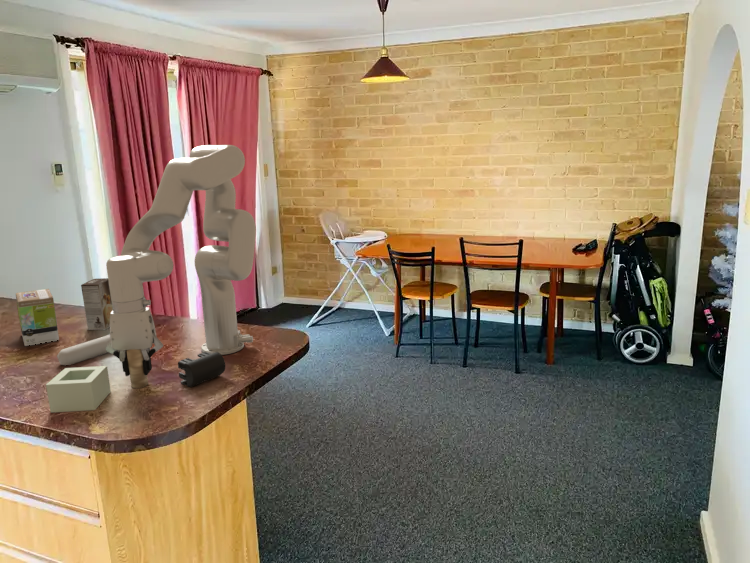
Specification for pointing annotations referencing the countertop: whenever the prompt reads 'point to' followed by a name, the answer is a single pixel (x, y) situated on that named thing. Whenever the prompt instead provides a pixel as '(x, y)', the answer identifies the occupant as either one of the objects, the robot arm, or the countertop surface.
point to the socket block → (78, 389)
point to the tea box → (37, 316)
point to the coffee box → (97, 303)
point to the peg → (136, 368)
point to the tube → (83, 351)
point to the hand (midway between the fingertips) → (138, 372)
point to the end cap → (201, 368)
